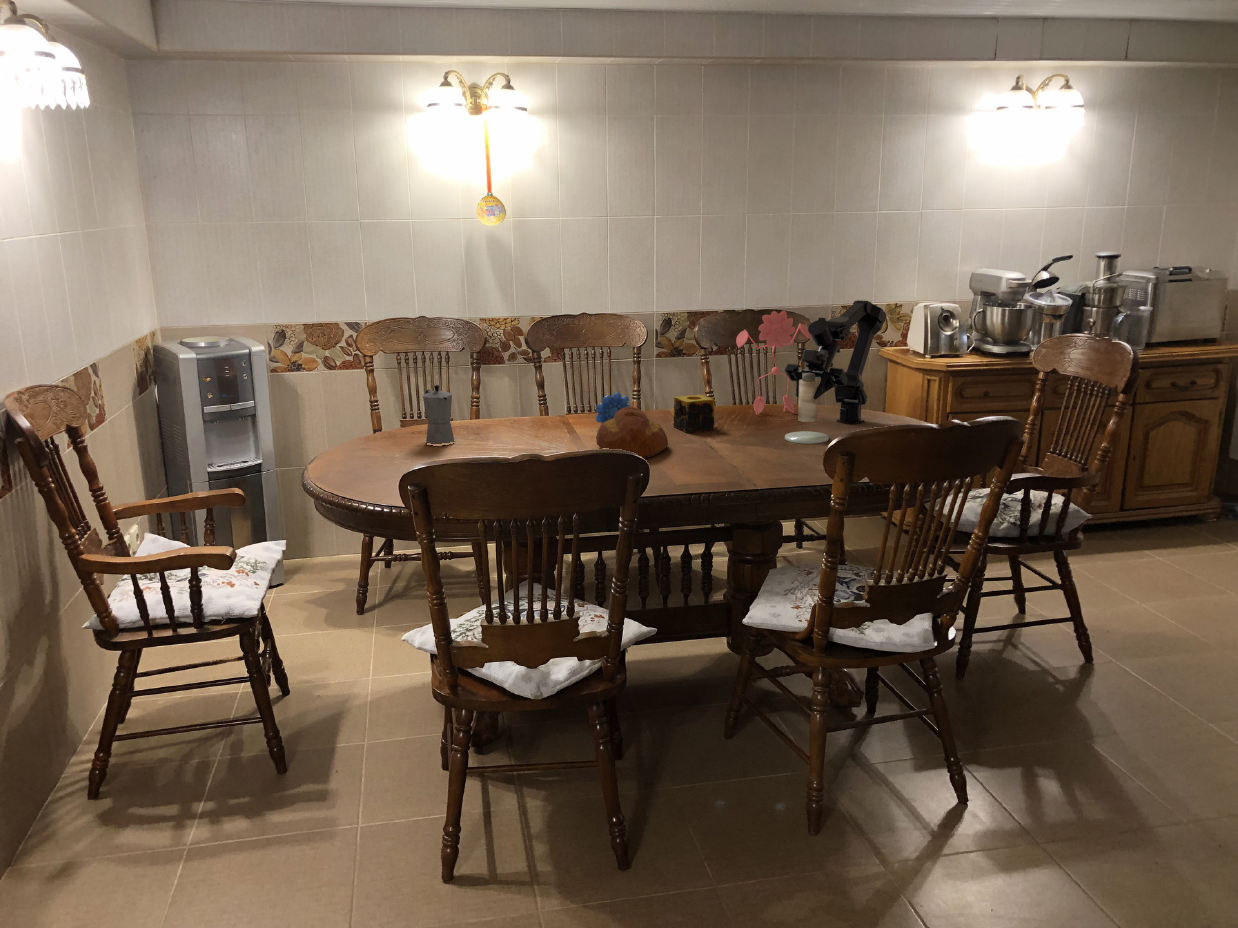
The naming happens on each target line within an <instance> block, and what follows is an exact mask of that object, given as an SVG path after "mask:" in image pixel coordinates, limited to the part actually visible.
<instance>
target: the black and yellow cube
mask: <svg viewBox="0 0 1238 928" xmlns="http://www.w3.org/2000/svg"><path fill="white" fill-rule="evenodd" d="M673 403H674V404H673V427H674V428H675V429H677V430H680V431H683V432H684V433H686V434H687V433H698V432H706V431H713V430H714V429H715V399H714V398H711V397H709V396H706V395H704V394H694V395H693V394H692V395H683V396H674V397H673Z"/></svg>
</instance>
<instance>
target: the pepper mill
mask: <svg viewBox="0 0 1238 928" xmlns="http://www.w3.org/2000/svg"><path fill="white" fill-rule="evenodd" d="M818 386H819V380H818V379H816V378H815V374H814V373H803V374H802V379H801V380H799V397H798V410H797V411H798V412H797V413H798V415H797V419H798V421H799V422H802V423H812V422H817V421H818V398H817V399H814V395H815V392H816V390H817V388H818Z"/></svg>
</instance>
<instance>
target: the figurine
mask: <svg viewBox="0 0 1238 928" xmlns="http://www.w3.org/2000/svg"><path fill="white" fill-rule="evenodd" d="M761 318H762V321H763V323H762V324H760V325H759V326H758V331H759V332H760V333H759V337H758V339H759V340H760V341H766V344H765V345H762V346H758V345H757V343H755V341H754V339H753V338H752V337H751V336H750V335H749V332H748V331H747V329H743V330H742V331H740V332H739V333H738V335H737V336H736V340H735V341H736V346H737V348H738V349H740V348H742V347H743V346H744V345H745V344H746V343H747V341H748V338H749V339H750V341H751V342H752V343H753V345H754V346H755V348H756V349H757V350H759V349H762V348H766V347H767V348H770V349H771V348H772V352H771V355H772V359H773V363H774V367H772V368H771V372H769V373H767V374H764V375H762V376H759V377H758V379H757V382H758V393H759V394H758V396H757V397H756V398H755V399H754V401H753V409H754V412H755V414H756V416H758V415H760V414H761V413H762V412H763V411H764V408H765V407H766V406H765V405H766V402H765V398H764V397H763V396H762V395H761V386H760V384H761V383H760V379H763V378H764V377H767V376H769V375H771V374H773V375H774V376H777V375H779V374H781V375H783V376H784V377H786V378H787V387H786V394H785V395H784V396H783V404H784V407H783V412H784V413H785V412H786V409H787V410H788V411H789V412H791V414H794V410H795V405H794V402H793V400H792V398H791V397H790V396H789V387H790V386H789V384H790V379H789V377H788V375H787V374H785V373H782V372H781V370H780V368H779V367H778V366H777V364H776V363H777V362H776V359H775V358H776V357H775V353H774V352H775V347H777V348H778V349H781V348H783V346H792V345H793V344H794V341H795V338H796V336H797V334H798V332H799V330H800V332H801V333H802V334H803V335H804V336H805V337H806V338H807V339H809V340H811V341H813V340H812V338H811V336H810V334H809V332H808V327H809V326H807V325H806V324H803V323H799V324H798V326H797V329H796V327H794V326H793V323H794V318H792V317H789V318H788V314H787V310H781V312H780V313H778V312H777V311H775V310H774V311H772V312H771V314H764V315H762V317H761ZM794 332H795V333H794ZM792 334H794V335H793V337H792V336H791V335H792ZM793 419H795V417H793V418H789V420H793ZM771 420H778V421H779V420H780V421H781V418H779V419H778V418H771ZM782 420H786V418H782Z"/></svg>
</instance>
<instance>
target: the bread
mask: <svg viewBox="0 0 1238 928" xmlns="http://www.w3.org/2000/svg"><path fill="white" fill-rule="evenodd" d="M595 439H596V445H597V446H598V447H599V448H600V449H601V448H609V449H622V450H626V451H630V452H634V453H636V454H638V455H639V456H642V457H643V458H645V459H647V458H651V457H654V456H656V455H658V454H659V453H661V452H662V451H663V450H665V449H666V447H668V446H669V441H668V440H669V439H668V436H667V434H666V432H665V430H664V428H663V427H662V425H661V424H660V423H657V422H656V421H653V420H650V419H649V418H648V416H647V415H646V413H645V412H644V411H643V410H641V409H640V408H638V407H635V406H632V405H630V406H629V407H626V408H622V409H620V410H619V411H618V412H616V414H615V416H614V418H612V419H610V420H608V421H606V422H604V423H603V424H600V426H599V428H598V430H597V433H596V437H595Z"/></svg>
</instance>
